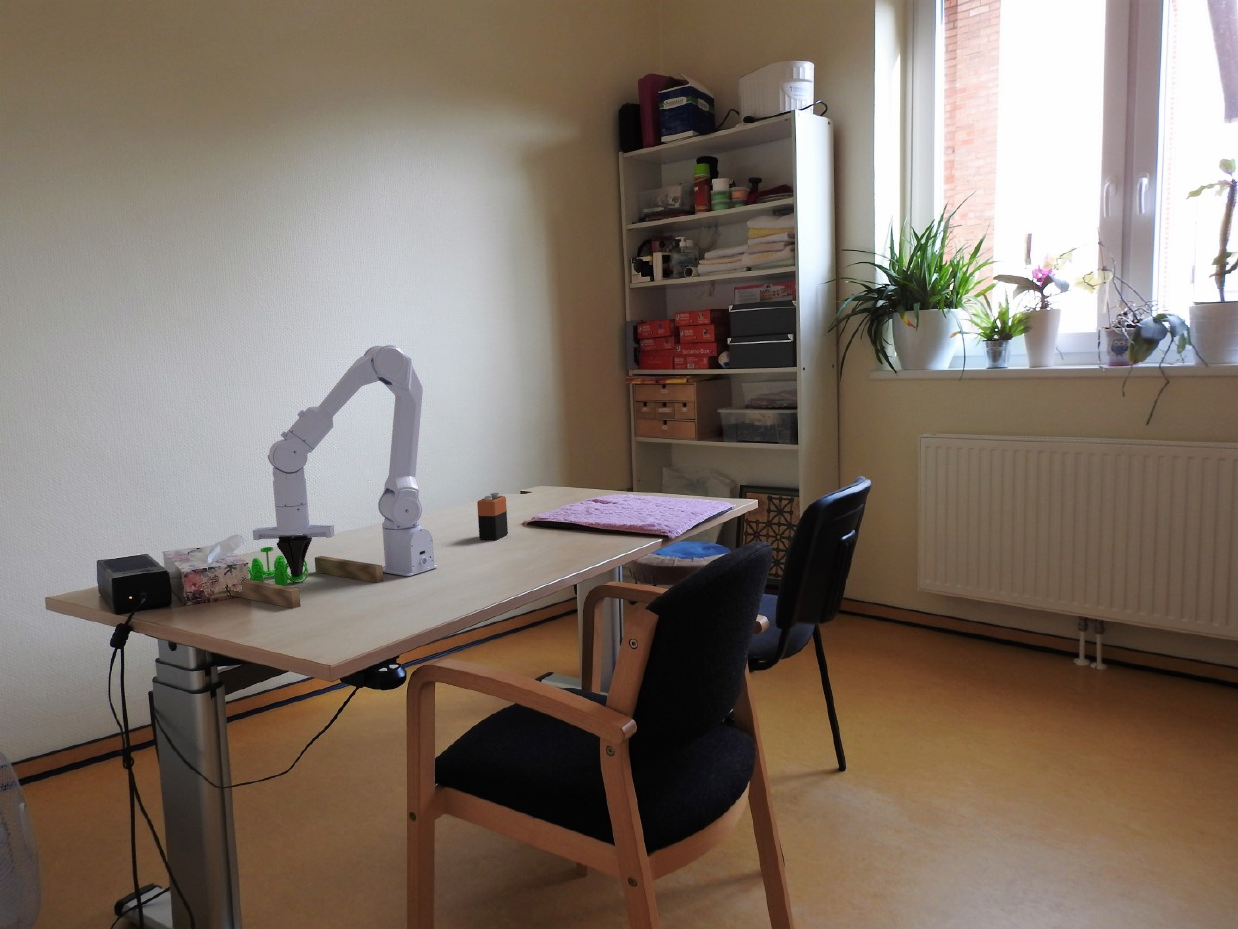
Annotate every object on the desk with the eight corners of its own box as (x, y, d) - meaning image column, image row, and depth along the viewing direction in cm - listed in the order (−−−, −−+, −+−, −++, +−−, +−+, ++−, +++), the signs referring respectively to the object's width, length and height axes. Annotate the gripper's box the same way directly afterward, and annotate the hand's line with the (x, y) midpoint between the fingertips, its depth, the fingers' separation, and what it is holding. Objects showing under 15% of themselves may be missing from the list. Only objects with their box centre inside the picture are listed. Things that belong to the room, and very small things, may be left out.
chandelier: (322, 572, 179) (319, 538, 178) (293, 593, 164) (290, 556, 163) (247, 575, 179) (244, 541, 178) (212, 595, 164) (209, 558, 164)
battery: (508, 534, 209) (506, 492, 207) (496, 541, 202) (493, 497, 201) (491, 534, 210) (489, 491, 209) (478, 540, 204) (476, 496, 202)
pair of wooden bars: (383, 580, 170) (382, 565, 170) (293, 608, 154) (291, 591, 153) (321, 570, 180) (320, 555, 180) (230, 595, 164) (229, 579, 163)
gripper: (337, 499, 171) (342, 569, 172) (261, 501, 171) (267, 571, 172) (324, 505, 164) (330, 578, 165) (245, 508, 164) (252, 581, 165)
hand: (297, 576), depth 168 cm, fingers closed
